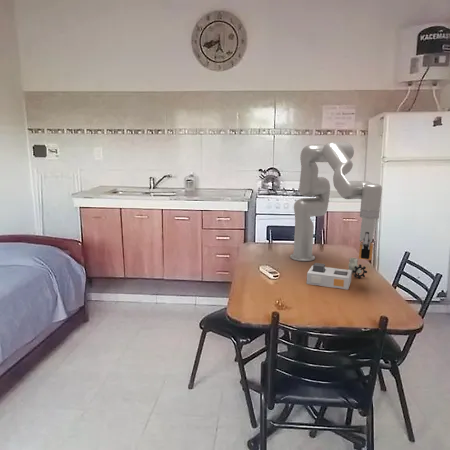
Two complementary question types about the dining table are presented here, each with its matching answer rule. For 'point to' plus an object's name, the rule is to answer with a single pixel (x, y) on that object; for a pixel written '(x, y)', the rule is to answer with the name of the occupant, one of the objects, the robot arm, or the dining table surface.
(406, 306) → the dining table surface
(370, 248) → the lockout cap
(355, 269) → the valve
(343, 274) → the block
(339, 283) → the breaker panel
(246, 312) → the dining table surface
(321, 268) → the breaker
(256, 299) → the dining table surface
